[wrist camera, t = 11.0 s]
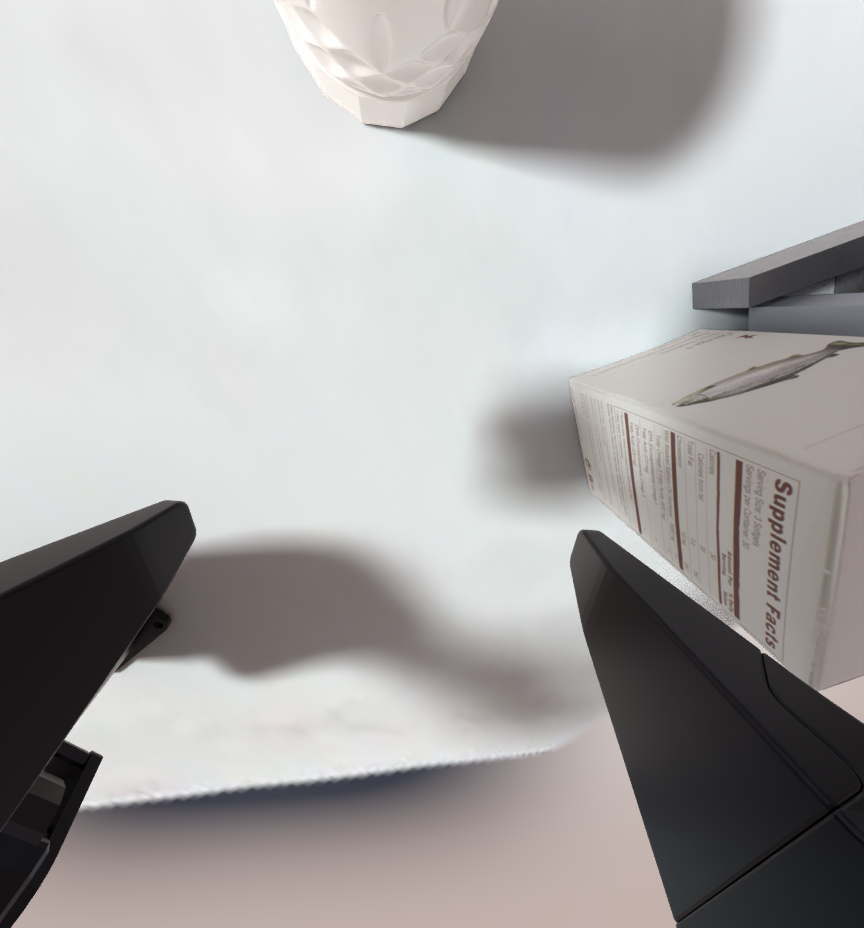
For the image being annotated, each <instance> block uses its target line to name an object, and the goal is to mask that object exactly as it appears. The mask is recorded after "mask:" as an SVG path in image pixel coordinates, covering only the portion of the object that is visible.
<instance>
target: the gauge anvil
mask: <svg viewBox="0 0 864 928" xmlns="http://www.w3.org/2000/svg"><path fill="white" fill-rule="evenodd" d="M835 276H836V284H835V293H834V294H844V293H864V221H862V222H859V223H856V224H853V225H851V226H848V227H845V228H842V229H840V230H837V231H834V232H831V233H829V234H826V235H823V236H821V237H818V238H815V239H812V240H810V241H807V242H804V243H801V244H799V245H796V246H793V247H790V248H788V249H785V250H782V251H779V252H777V253H774V254H771V255H769V256H766V257H763V258H760V259H758V260H755V261H752V262H749V263H747V264H744V265H741V266H738V267H736V268H733V269H730V270H727V271H725V272H722V273H719V274H716V275H714V276H711V277H708V278H706V279H703V280H700V281H697V282H695V283H692V290H693V309H718V308H750V307H753V306H755V305H758V304H761V303H764V302H766V301H769V300H772V299H775V298H777V297H780V296H783V295H786V294H788V293H791V292H794V291H797V290H799V289H802V288H805V287H808V286H810V285H813V284H816V283H819V282H821V281H824V280H827V279H830V278H832V277H835Z"/></svg>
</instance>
